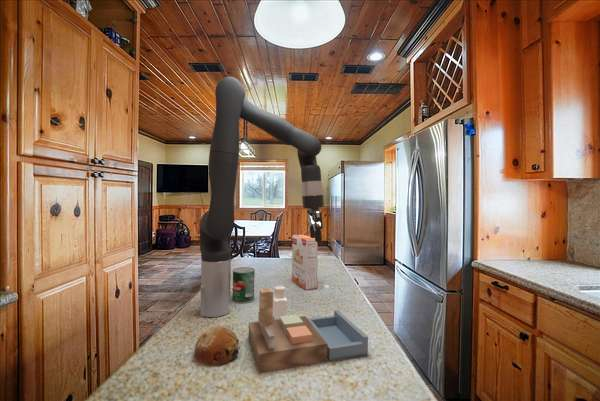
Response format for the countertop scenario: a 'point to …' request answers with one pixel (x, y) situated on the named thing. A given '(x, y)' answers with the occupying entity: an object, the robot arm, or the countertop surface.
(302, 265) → the cracker box
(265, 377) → the countertop surface
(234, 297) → the canned tomato
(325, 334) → the tray
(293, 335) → the terracotta tile
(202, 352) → the bread roll
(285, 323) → the sage tile
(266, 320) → the long tan wooden block
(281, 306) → the pepper shaker
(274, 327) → the board
